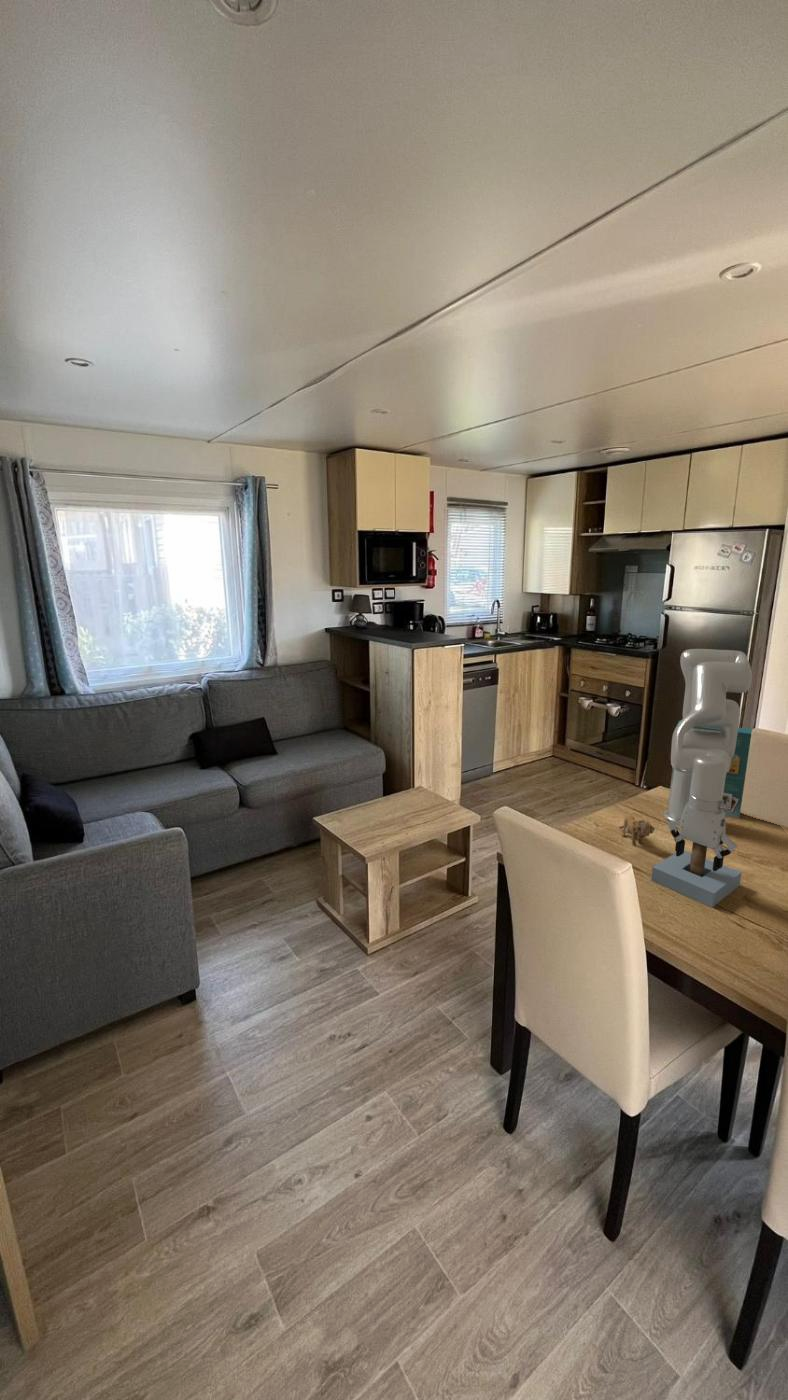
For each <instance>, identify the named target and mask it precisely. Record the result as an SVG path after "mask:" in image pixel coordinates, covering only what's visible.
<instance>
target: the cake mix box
mask: <svg viewBox="0 0 788 1400" xmlns="http://www.w3.org/2000/svg"><path fill="white" fill-rule="evenodd" d="M681 720H682V719H679V721H678V722H677V725H678V724H679V723H680V721H681ZM677 725H676V726H677ZM693 729H704V730H713V731H721V730H720V729H717V728H706V727H694V728H693ZM752 733H753V729H752V728H744V727H739V728H738V734H737V741H736V748H735V753H734V756H733V758H732V759H731V766H730V770H729V771H728V772H727V773H726V778H725V785H724V792H723V803H724V804H726V805H728V808H727V810H724V809H722V810H724V811H725V817H730V818H734V819H740V816H741V809H742V802H743V796H744V795H743V794H744V788H745V783H746V782H745V781H746V776H747V775H746V774H747V769H748V763H749V762H748V761H749V753H750V747H751V740H752ZM673 774H674V769H673V768H672V769H671V778H670V787H669V794H668V795H669V796H668V805H669V806H670V800H671V792H672V783H673Z"/></svg>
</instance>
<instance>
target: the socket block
mask: <svg viewBox="0 0 788 1400" xmlns="http://www.w3.org/2000/svg"><path fill="white" fill-rule="evenodd" d="M691 854H692V852H691V851H687V850H685V849H684V853H683V854H682V855H680V856H676V852H674V853H673V854H672V855H670V856H668V857H667V858H665V859H663V860H662V861H660V862H658V863H657V864H655V865H653V866H652V868H651V869H652V870H651V878H650V879H651V880H650V881H652V882H653V883H656V884H658V885H660V886H663V887H665V888H667V889H670V890H672V891H674V892H677V893H678V894H681V895H683V896H686V897H687V898H690V899H692V900H694V901H696V902H699V903H700V904H703V905H705V906H707V907H710V908H714V907H715V906H716V905H717V904H718V903H720V902H721V901H722V900H723V899H725V898H726V897H728V895H730V894H731V893H732V892H734V891H735V890H736V889H737V888H739V887H741V886H740V885H741V880H742V872H741V871H739V870H737V869H735V868H731V867H728V866H727V865H723V866H722V868H720V869H718V870H717V871H713V862H714V860H711V859H709V858H706V860H705V867H704V875H703V877H700V876H698V875H695V874H693V873H691V872H689V870H690V862H691Z"/></svg>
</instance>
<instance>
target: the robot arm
mask: <svg viewBox="0 0 788 1400" xmlns="http://www.w3.org/2000/svg"><path fill="white" fill-rule="evenodd" d="M680 668H681V671H682V675H683V678H684V681H685V687H684V688H685V689H684V696H683V697H684V698H683V706H682V719H680V720H681V721H680V720H679V721H680V723H679V724H678V723H677V724H678V725H676V727H675V728H674V731H673V733H672V738H671V747H670V748H671V750H670V765H671V766H672V769H674V774H673V783H672V792H671V800H670V805H669V808H667V809H665V810H664V812H663V817H664V818H665V819H666V820H667V821H668V823H667V825H668V828H669V830H670V834H671V835H672V837H673V838H674V839H673V840H674V842H675V846H674V847H675V848H674V851H675V853H676V856H680V855H682V854H683V853H684V850H685V845H686V840H687V841H690V842H692V843H693V842H695V843H697V844H700V845H703V846H705V847H707V849H708V848H709V849H712V851H713V852H714V855H715V856H714V857H713V861H714V862H713V871H717V870H718V869H720V868H722V866H723V864H724V858H725V857H726V856H729V855H731V854H732V853H733V852H734V851H735V849H737V848H738V844H737V843H736V842H734V841H733V840H732V839H731V838H729V837H728V836H727V835H726V833H727V831H726V829H727V822H726V816H725V811H724V810H727V808H728V805H726V804H724V803H723V792H724V785H725V778H726V773H727V772H728V771H729V770H730V766H731V759H732V758H733V756H734V753H735V748H736V741H737V734H738V728H740V720H741V709H740V705H739V703H737V701H735V700H732V699H729V698H727V693H738V694H742V693H746V692H748V691H749V689H750V688H751V686H752V681H753V679H752V677H753V674H752V668H751V664H750V661H749V659H748V656H747V655H746V653H745V652H743V651H741V650H732V649H731V650H730V649H713V648H712V649H711V648H689V649H685V650H684V651H683V652H682V653H681V655H680ZM694 727H706V728H717V729H720V730H721V731H713V730H704V729H693V728H694ZM722 809H724V810H722ZM677 827H679V830H678V829H677ZM724 844H725V845H726V846H727V848H726V849H725V848H724V847H723V845H724Z"/></svg>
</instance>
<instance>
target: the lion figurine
mask: <svg viewBox="0 0 788 1400" xmlns="http://www.w3.org/2000/svg"><path fill="white" fill-rule="evenodd" d="M618 829H620V830H622V829H623V830H622V834H621V837H623V838H624V837H625V838H626V837H627V834H626V832H627V833H629V834H630V833H631V834H632V836H631V846H633V847H636V846H637V843H638V845H640V846H643V845H644V842H643V841H642V839H644V838H646V837H648V836H650V834H651V835H652V834H653V833H654V832H655V830H656V828H655V827H654V826H652V824H651V822H650V820H647V819H643V820H635V817H634V816H633V815H627V816H626V815H625V817H624V819H623V825H622V826H619V827H618ZM637 838H638V840H637ZM636 840H637V842H636Z"/></svg>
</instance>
